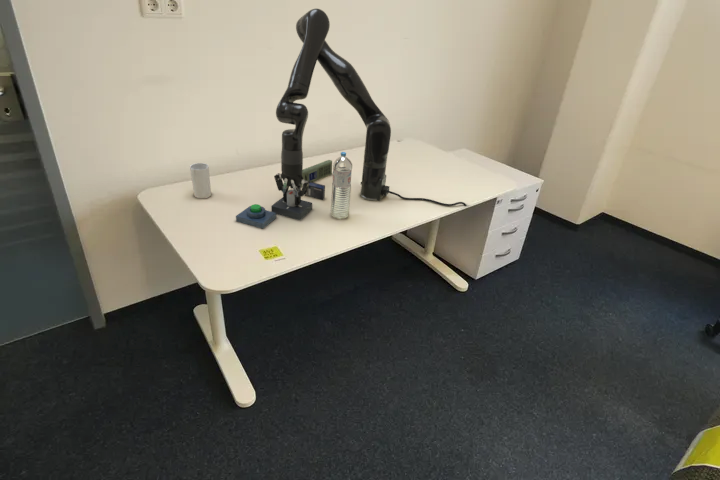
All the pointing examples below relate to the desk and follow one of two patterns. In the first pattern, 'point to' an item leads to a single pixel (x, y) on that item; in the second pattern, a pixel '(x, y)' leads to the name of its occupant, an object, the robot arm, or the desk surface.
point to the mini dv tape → (316, 191)
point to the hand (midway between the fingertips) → (291, 202)
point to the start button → (255, 208)
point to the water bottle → (341, 187)
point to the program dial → (291, 198)
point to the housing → (256, 217)
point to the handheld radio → (317, 171)
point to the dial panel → (292, 209)
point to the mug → (200, 180)
